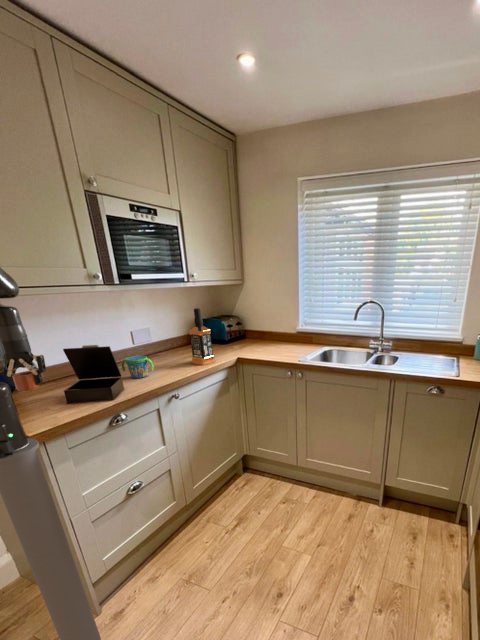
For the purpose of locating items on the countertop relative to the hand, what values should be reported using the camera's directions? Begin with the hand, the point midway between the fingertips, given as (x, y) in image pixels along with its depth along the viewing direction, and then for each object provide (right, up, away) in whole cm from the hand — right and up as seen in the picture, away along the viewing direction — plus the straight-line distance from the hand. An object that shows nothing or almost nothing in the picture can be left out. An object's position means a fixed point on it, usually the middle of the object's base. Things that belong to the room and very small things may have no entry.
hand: (28, 385), depth 118 cm
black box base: (+6, -4, +28) cm, 29 cm away
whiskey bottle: (+36, +17, +84) cm, 93 cm away
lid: (+5, +11, +27) cm, 30 cm away
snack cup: (+11, +7, +56) cm, 58 cm away
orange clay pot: (0, -1, 0) cm, 1 cm away
